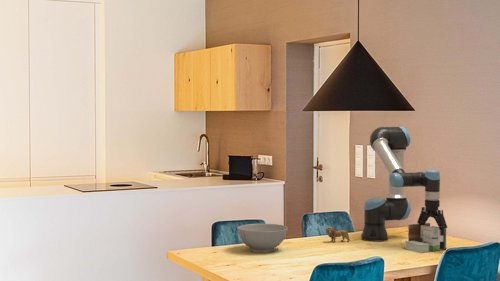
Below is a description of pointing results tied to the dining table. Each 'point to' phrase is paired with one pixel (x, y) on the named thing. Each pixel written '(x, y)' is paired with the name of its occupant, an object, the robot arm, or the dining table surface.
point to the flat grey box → (417, 246)
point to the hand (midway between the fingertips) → (431, 239)
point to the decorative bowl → (262, 236)
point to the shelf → (417, 234)
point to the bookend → (443, 244)
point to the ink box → (431, 237)
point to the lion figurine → (337, 234)
